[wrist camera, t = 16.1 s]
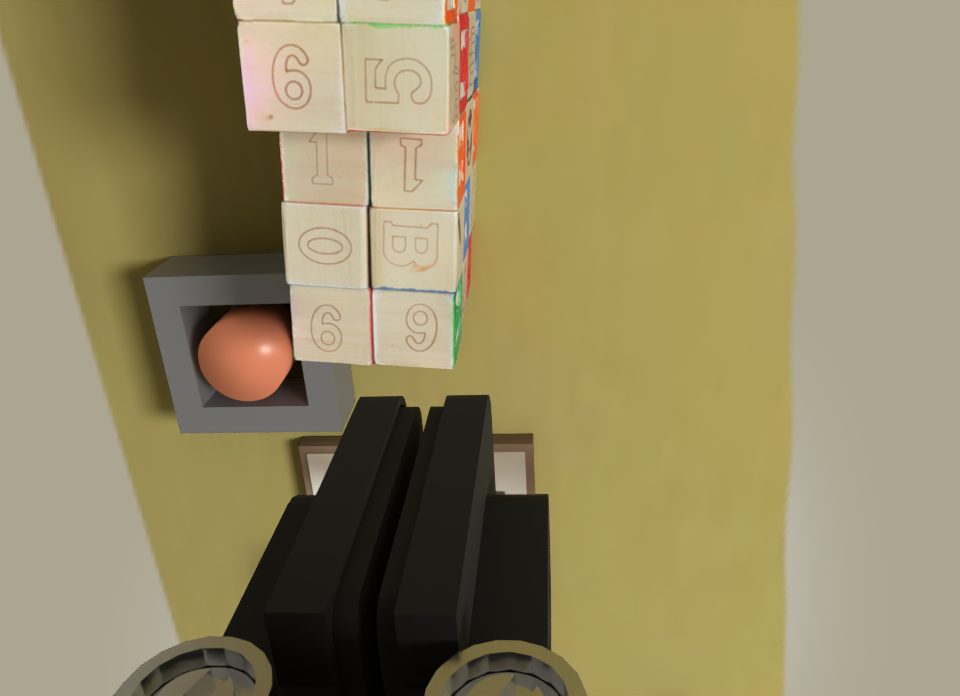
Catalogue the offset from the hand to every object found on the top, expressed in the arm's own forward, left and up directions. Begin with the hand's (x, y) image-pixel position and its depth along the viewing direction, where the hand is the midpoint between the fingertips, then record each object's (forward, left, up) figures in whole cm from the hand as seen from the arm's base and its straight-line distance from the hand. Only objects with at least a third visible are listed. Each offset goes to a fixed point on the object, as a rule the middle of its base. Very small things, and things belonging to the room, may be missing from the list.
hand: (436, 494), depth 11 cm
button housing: (-1, -16, -27) cm, 31 cm away
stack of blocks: (-6, -1, -28) cm, 28 cm away
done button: (-1, -16, -27) cm, 31 cm away
